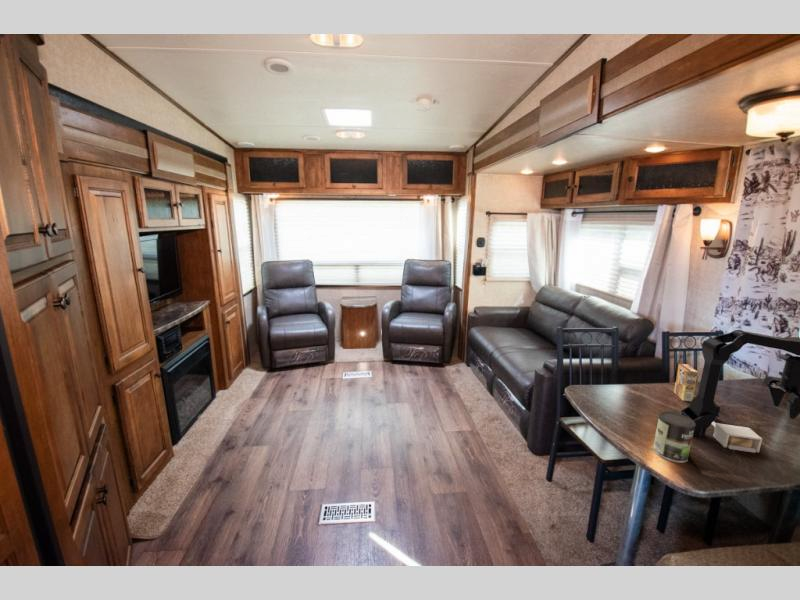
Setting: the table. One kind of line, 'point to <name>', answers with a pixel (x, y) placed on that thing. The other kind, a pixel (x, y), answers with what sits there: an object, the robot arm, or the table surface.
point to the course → (736, 434)
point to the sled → (738, 446)
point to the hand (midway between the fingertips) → (783, 412)
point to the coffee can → (673, 436)
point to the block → (740, 441)
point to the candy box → (685, 382)
